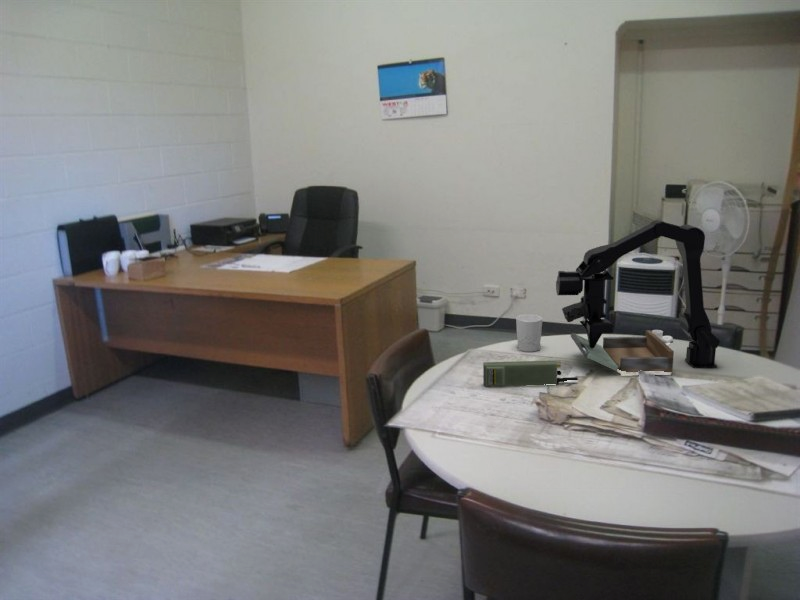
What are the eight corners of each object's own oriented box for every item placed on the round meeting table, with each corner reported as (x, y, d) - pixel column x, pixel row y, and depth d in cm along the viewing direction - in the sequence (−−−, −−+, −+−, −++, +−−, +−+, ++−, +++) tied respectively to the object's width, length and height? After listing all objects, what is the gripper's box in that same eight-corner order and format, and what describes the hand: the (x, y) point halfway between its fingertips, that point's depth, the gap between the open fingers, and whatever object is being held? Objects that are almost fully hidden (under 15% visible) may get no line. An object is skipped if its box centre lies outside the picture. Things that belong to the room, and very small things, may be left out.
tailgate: (601, 345, 187) (571, 331, 186) (618, 366, 170) (586, 351, 169) (598, 349, 187) (569, 336, 187) (616, 371, 170) (583, 356, 169)
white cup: (543, 352, 191) (544, 321, 188) (518, 353, 191) (518, 321, 188) (538, 344, 198) (539, 314, 196) (514, 344, 199) (514, 314, 196)
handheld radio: (483, 383, 169) (575, 381, 168) (484, 388, 166) (578, 386, 165) (483, 360, 167) (576, 358, 166) (484, 365, 164) (580, 363, 163)
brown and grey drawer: (648, 352, 187) (649, 330, 186) (671, 375, 169) (673, 351, 167) (602, 353, 188) (603, 331, 186) (621, 376, 170) (622, 352, 168)
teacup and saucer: (671, 340, 199) (672, 328, 197) (674, 348, 191) (675, 335, 190) (642, 338, 201) (643, 326, 200) (643, 346, 194) (644, 334, 193)
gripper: (558, 287, 184) (557, 338, 187) (572, 304, 166) (570, 359, 169) (596, 286, 183) (594, 337, 187) (614, 303, 165) (612, 358, 169)
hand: (591, 347), depth 178 cm, fingers closed, pressing on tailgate
